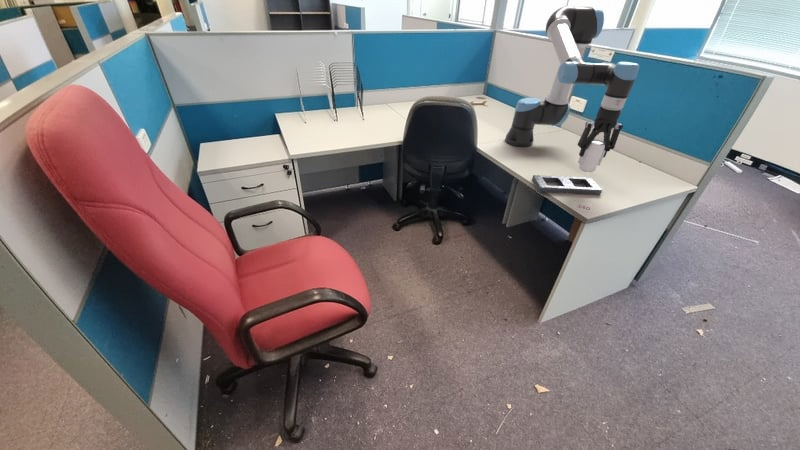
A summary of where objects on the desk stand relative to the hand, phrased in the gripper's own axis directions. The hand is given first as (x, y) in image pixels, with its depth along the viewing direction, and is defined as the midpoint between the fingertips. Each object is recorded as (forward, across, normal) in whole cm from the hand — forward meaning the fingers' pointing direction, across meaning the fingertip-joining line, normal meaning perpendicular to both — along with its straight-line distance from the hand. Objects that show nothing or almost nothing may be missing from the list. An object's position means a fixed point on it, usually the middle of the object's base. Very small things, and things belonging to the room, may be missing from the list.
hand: (588, 163), depth 138 cm
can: (+3, 0, 0) cm, 3 cm away
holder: (+12, -6, 0) cm, 13 cm away
